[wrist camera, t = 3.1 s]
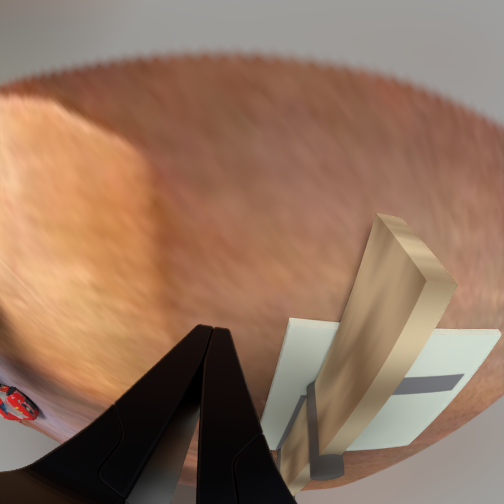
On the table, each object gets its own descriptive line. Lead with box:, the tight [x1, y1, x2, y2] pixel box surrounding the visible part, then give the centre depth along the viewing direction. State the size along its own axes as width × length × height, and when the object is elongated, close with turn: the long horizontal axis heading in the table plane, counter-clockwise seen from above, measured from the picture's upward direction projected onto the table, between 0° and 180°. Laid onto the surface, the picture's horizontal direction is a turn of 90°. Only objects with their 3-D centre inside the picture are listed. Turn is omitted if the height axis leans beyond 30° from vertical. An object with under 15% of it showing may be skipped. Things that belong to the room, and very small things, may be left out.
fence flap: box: [306, 213, 458, 480], centre depth 12 cm, size 13×2×6 cm, turn 173°
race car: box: [0, 385, 39, 422], centre depth 26 cm, size 13×5×4 cm, turn 105°
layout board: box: [260, 318, 502, 451], centre depth 19 cm, size 16×16×1 cm
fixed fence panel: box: [277, 398, 311, 499], centre depth 18 cm, size 10×2×7 cm, turn 173°
